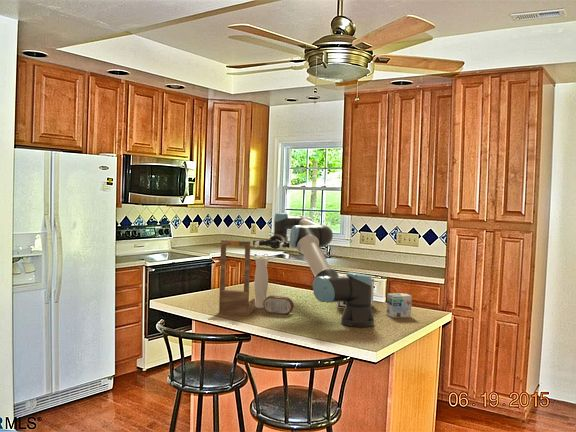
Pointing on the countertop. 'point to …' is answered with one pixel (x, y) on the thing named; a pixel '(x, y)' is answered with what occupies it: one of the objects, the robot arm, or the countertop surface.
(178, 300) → the countertop surface
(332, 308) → the countertop surface
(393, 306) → the light bulb box
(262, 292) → the skyscraper
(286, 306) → the tin
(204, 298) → the countertop surface
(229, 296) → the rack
